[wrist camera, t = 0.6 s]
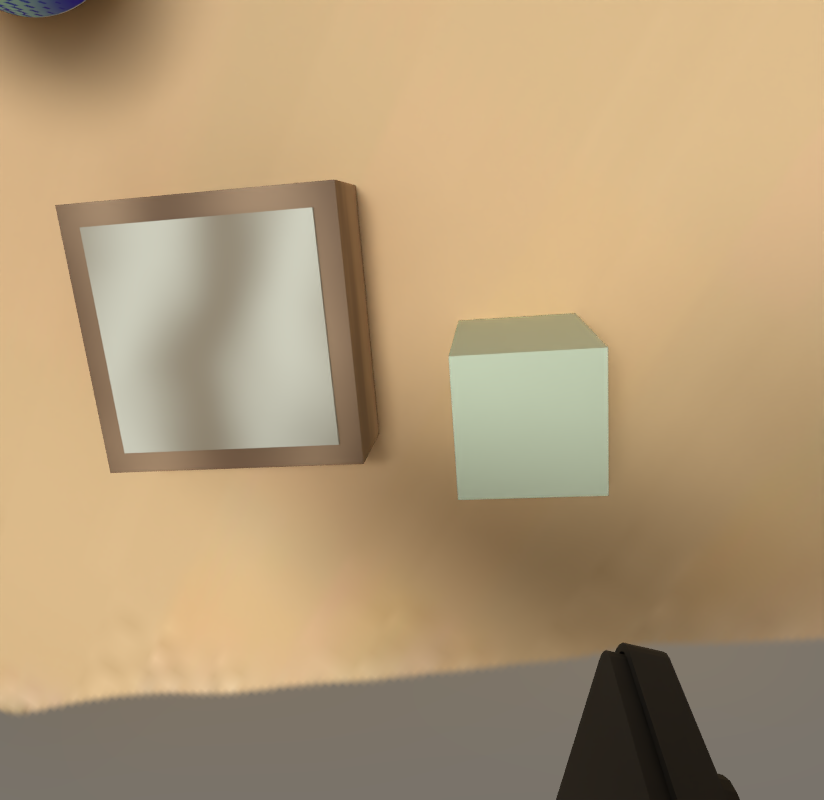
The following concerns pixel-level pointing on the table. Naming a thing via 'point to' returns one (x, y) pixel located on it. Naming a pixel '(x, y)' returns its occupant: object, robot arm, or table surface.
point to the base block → (225, 326)
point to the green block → (529, 408)
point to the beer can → (38, 7)
